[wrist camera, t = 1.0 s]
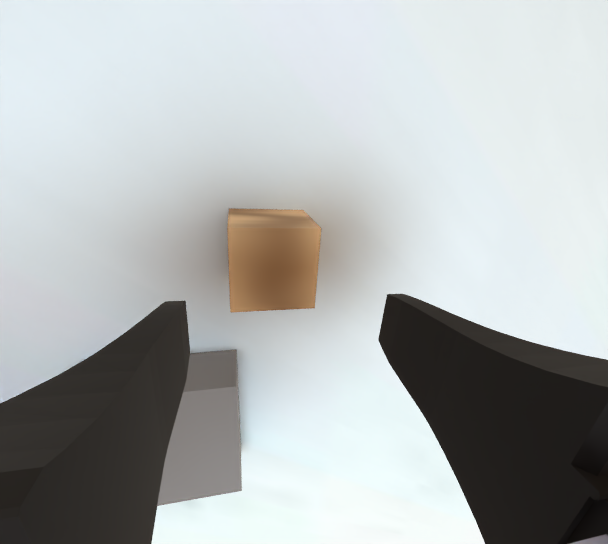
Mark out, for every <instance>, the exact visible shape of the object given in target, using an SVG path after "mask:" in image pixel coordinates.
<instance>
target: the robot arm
mask: <svg viewBox="0 0 608 544" xmlns="http://www.w3.org/2000/svg"><path fill="white" fill-rule="evenodd" d="M379 342H380V344H381V347H382V349H383V351H384V353H385V355H386V357H387V359H388V362H389V363H390V365H391V366H392V368H393V370H394V371H395V373H396V374H397V376H398V377H399V379H400V380H401V382H402V383H403V385H404V386H405V388H406V389H407V391H408V392H409V394H410V395H411V397H412V398H413V400H414V401H415V403H416V404H417V406H418V407H419V409H420V410H421V412H422V413H423V415H424V417H425V418H426V420H427V422H428V423H429V425H430V427H431V429H432V431H433V432H434V434H435V436H436V438H437V440H438V442H439V444H440V446H441V448H442V450H443V451H444V453H445V455H446V458H447V460H448V462H449V464H450V466H451V468H452V470H453V472H454V474H455V476H456V478H457V480H458V482H459V484H460V486H461V489H462V491H463V493H464V495H465V498H466V500H467V502H468V504H469V506H470V509H471V511H472V513H473V515H474V518H475V520H476V522H477V525H478V527H479V529H480V532H481V534H482V537H483V539H484V542H485V544H608V360H605V359H600V358H595V357H590V356H585V355H581V354H576V353H572V352H567V351H563V350H559V349H555V348H551V347H547V346H543V345H540V344H536V343H532V342H529V341H525V340H522V339H519V338H516V337H513V336H510V335H507V334H503V333H500V332H498V331H495V330H492V329H489V328H486V327H484V326H481V325H479V324H476V323H474V322H471V321H468V320H466V319H464V318H461V317H459V316H456V315H454V314H452V313H449V312H447V311H445V310H442V309H440V308H438V307H435V306H433V305H431V304H429V303H426V302H424V301H421V300H419V299H416V298H414V297H411V296H408V295H405V294H387V299H386V304H385V309H384V314H383V319H382V324H381V329H380V334H379ZM189 357H190V346H189V334H188V323H187V312H186V301H168V302H164V303H163V304H161V305H160V306H159V307H158V308H156V309H155V310H154V311H153V312H151V313H150V314H149V315H148V316H146V317H145V318H144V319H143V320H141V321H140V322H139V323H137V324H136V325H135V326H134V327H132V328H131V329H130V330H128V331H127V332H126V333H124V334H123V335H121V336H120V337H118V338H117V339H116V340H114V341H113V342H111V343H110V344H108V345H107V346H106V347H104V348H103V349H101V350H100V351H98V352H97V353H95V354H94V355H92V356H90V357H89V358H87V359H86V360H84V361H82V362H80V363H79V364H77V365H75V366H74V367H72V368H70V369H68V370H67V371H65V372H63V373H61V374H59V375H58V376H56V377H54V378H52V379H50V380H48V381H46V382H44V383H42V384H40V385H38V386H36V387H34V388H32V389H30V390H28V391H26V392H24V393H22V394H20V395H18V396H16V397H14V398H11V399H9V400H7V401H5V402H3V403H0V544H151V541H152V535H153V529H154V522H155V516H156V510H157V504H158V497H159V492H160V486H161V480H162V474H163V468H164V463H165V458H166V454H167V449H168V445H169V441H170V438H171V434H172V430H173V427H174V423H175V420H176V416H177V412H178V409H179V405H180V401H181V398H182V394H183V390H184V387H185V383H186V379H187V372H188V365H189Z"/></svg>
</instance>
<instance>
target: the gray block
mask: <svg viewBox="0 0 608 544" xmlns="http://www.w3.org/2000/svg"><path fill="white" fill-rule="evenodd" d="M237 491H242V484H241V438H240V417H239V395H238V373H237V351H236V350H226V351H214V352H202V353H191V354H190V357H189V365H188V372H187V379H186V383H185V387H184V390H183V394H182V398H181V401H180V405H179V409H178V412H177V416H176V420H175V423H174V427H173V430H172V434H171V438H170V441H169V445H168V449H167V454H166V458H165V463H164V468H163V474H162V480H161V486H160V492H159V497H158V504H157V506H159V505H164V504H170V503H176V502H181V501H187V500H192V499H198V498H203V497H209V496H215V495H220V494H226V493H231V492H237Z"/></svg>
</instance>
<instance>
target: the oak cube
mask: <svg viewBox="0 0 608 544" xmlns="http://www.w3.org/2000/svg"><path fill="white" fill-rule="evenodd" d="M227 230H228V257H229V284H230V311H231V312H247V311H267V310H286V309H306V308H314V307H315V295H316V284H317V272H318V260H319V249H320V237H321V228H320V227H319V226H318V225H317V224H316V223H315V222H314V221H313V220H312V219H311V218H310V217H309V216H308V215H307V214H306V213H305V211H304V210H277V209H229V214H228V227H227Z"/></svg>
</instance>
